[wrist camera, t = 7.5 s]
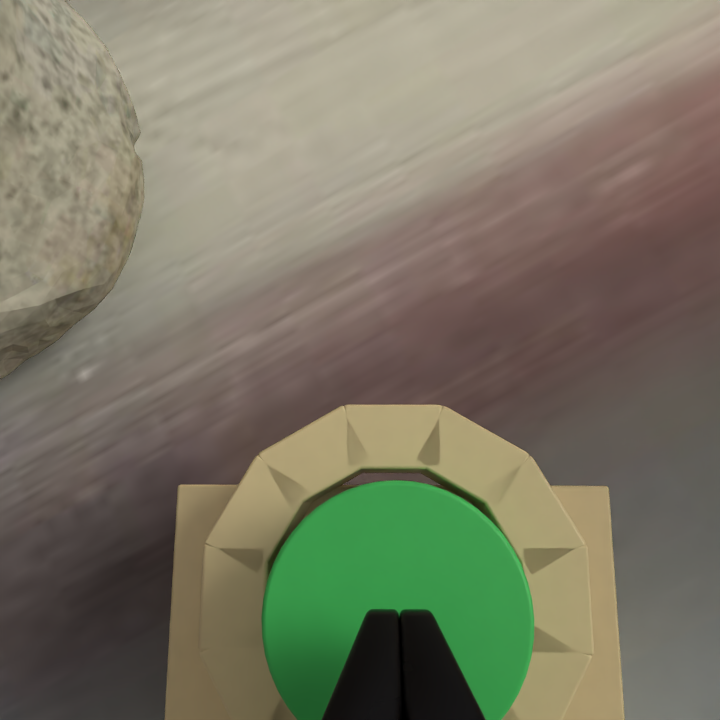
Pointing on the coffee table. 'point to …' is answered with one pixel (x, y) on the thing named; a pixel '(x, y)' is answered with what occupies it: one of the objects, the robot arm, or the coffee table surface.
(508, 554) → the light button
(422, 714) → the robot arm
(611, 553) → the switch box
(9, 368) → the stone
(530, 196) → the coffee table surface
